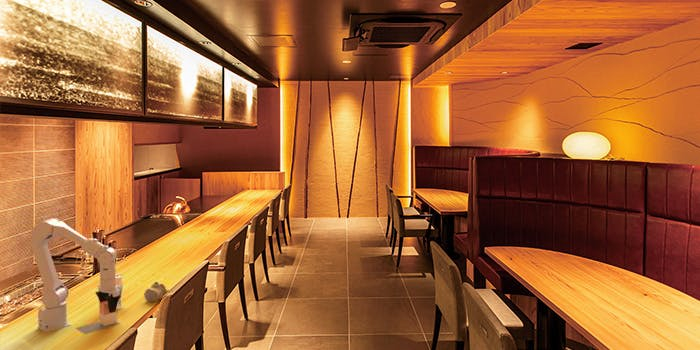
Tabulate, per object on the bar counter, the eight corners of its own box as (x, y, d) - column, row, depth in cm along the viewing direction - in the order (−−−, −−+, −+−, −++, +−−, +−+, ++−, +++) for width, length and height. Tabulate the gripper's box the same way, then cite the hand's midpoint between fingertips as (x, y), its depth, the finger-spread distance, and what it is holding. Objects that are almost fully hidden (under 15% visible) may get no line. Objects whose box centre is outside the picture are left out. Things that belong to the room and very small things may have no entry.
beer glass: (107, 306, 213) (106, 274, 212) (123, 304, 216) (123, 273, 215) (105, 311, 207) (104, 278, 206) (122, 309, 209) (121, 277, 208)
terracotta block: (103, 315, 189) (103, 304, 189) (99, 313, 192) (99, 302, 191) (116, 312, 193) (116, 301, 193) (112, 309, 196) (111, 299, 195)
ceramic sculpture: (137, 284, 218) (156, 277, 233) (137, 303, 218) (155, 294, 233) (158, 286, 217) (175, 279, 231) (158, 304, 217) (175, 296, 231)
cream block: (104, 326, 190) (104, 315, 189) (100, 323, 192) (100, 313, 192) (116, 322, 194) (116, 312, 193) (112, 320, 196) (112, 309, 196)
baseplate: (84, 335, 182) (84, 334, 182) (75, 329, 187) (75, 328, 187) (120, 324, 192) (120, 323, 192) (111, 319, 198) (111, 318, 198)
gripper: (125, 279, 190) (126, 311, 191) (109, 272, 199) (110, 303, 200) (108, 282, 185) (108, 316, 186) (92, 275, 194) (93, 307, 195)
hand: (108, 309), depth 193 cm, fingers open, 7 cm apart
